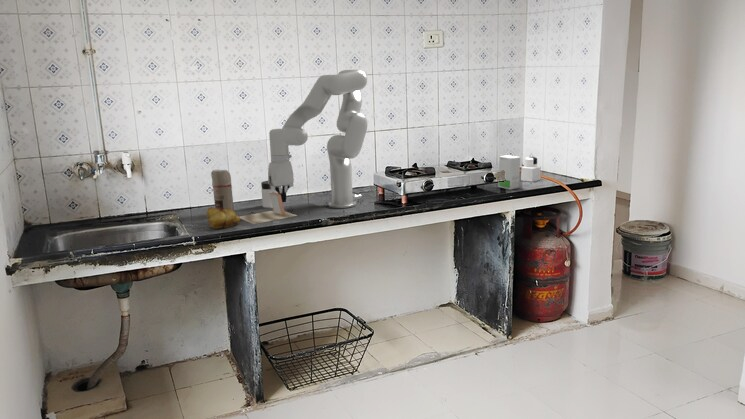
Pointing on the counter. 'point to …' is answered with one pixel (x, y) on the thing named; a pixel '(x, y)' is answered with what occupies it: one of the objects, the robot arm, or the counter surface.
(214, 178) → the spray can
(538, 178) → the medicine bottle
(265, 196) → the jar
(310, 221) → the counter surface
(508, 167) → the skincare box
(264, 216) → the packaged sliced meat
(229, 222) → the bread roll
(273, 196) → the tile
